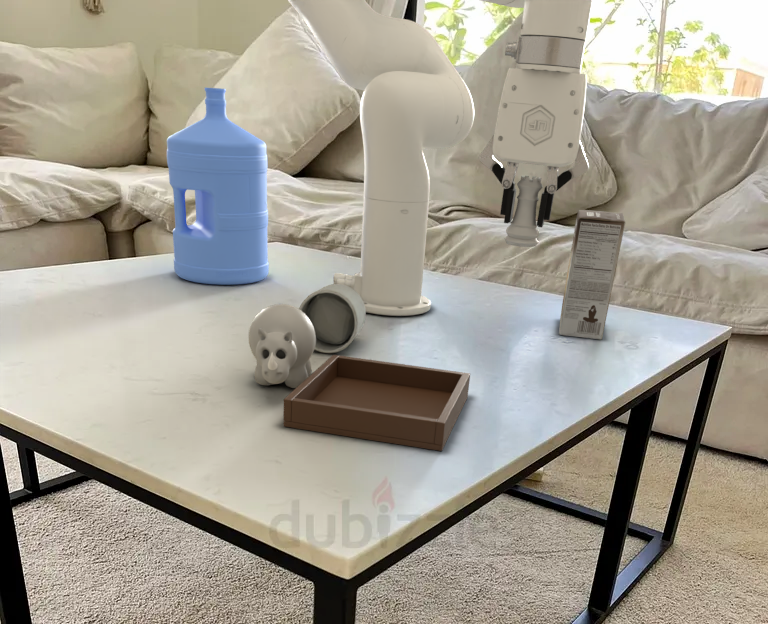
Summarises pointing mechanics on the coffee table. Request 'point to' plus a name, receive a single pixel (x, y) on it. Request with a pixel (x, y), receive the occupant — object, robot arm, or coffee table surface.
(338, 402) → the tray
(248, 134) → the water jug
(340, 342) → the ceramic mug
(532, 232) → the rook chess piece
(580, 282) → the coffee box
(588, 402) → the coffee table surface
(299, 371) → the round bodied animal figurine
